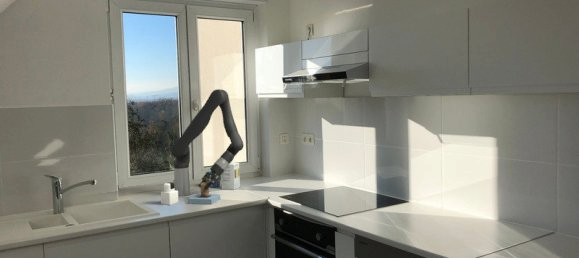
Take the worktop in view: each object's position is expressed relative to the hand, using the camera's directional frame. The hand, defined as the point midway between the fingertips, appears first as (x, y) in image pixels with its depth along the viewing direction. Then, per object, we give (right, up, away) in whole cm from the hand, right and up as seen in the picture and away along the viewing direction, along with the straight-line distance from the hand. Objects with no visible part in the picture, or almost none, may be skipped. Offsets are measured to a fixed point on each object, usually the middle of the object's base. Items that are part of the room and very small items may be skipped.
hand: (202, 188), depth 288 cm
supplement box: (+12, -5, +39) cm, 41 cm away
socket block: (+1, -8, +1) cm, 8 cm away
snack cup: (0, -5, +47) cm, 47 cm away
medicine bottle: (-19, -9, -1) cm, 21 cm away
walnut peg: (+1, -8, +1) cm, 8 cm away
